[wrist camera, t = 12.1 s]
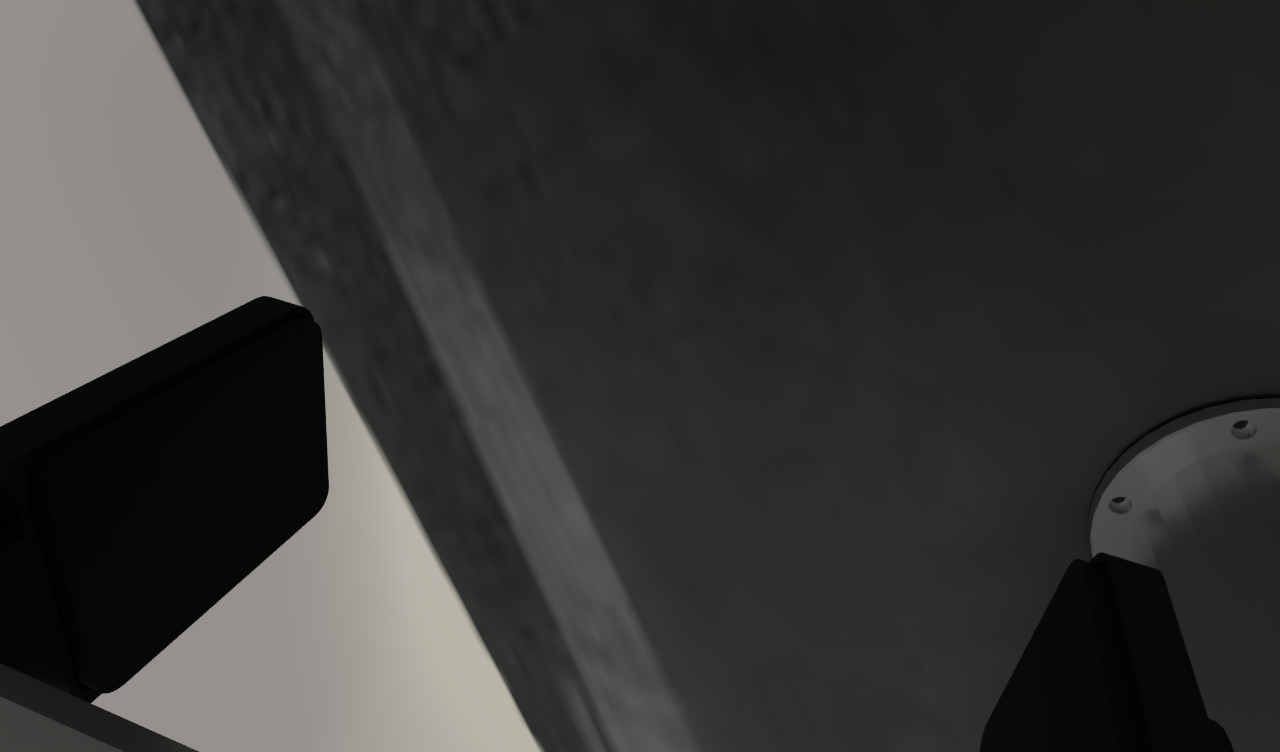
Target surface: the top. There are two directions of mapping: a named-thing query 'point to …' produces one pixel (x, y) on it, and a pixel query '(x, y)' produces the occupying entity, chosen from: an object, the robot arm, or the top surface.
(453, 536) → the top surface
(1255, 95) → the top surface
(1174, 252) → the top surface
